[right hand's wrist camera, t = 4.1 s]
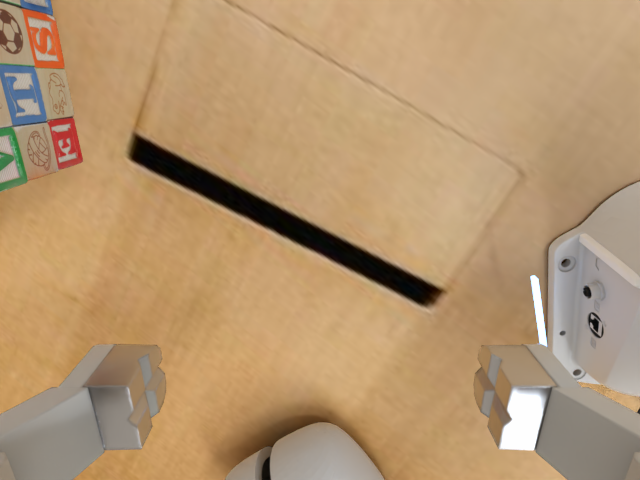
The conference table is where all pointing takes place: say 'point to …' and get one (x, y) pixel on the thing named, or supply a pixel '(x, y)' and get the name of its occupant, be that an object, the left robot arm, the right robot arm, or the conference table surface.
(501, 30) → the conference table surface
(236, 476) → the grey plastic rounded block
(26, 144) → the stack of blocks
